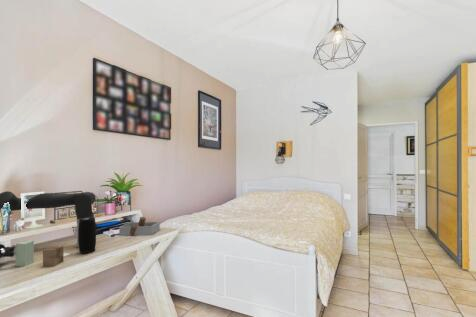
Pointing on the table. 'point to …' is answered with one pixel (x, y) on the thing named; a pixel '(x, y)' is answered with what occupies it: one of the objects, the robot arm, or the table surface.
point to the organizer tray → (139, 228)
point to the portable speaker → (87, 234)
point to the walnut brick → (53, 256)
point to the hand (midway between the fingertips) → (20, 251)
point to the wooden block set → (141, 223)
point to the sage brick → (24, 253)
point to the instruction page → (64, 254)
